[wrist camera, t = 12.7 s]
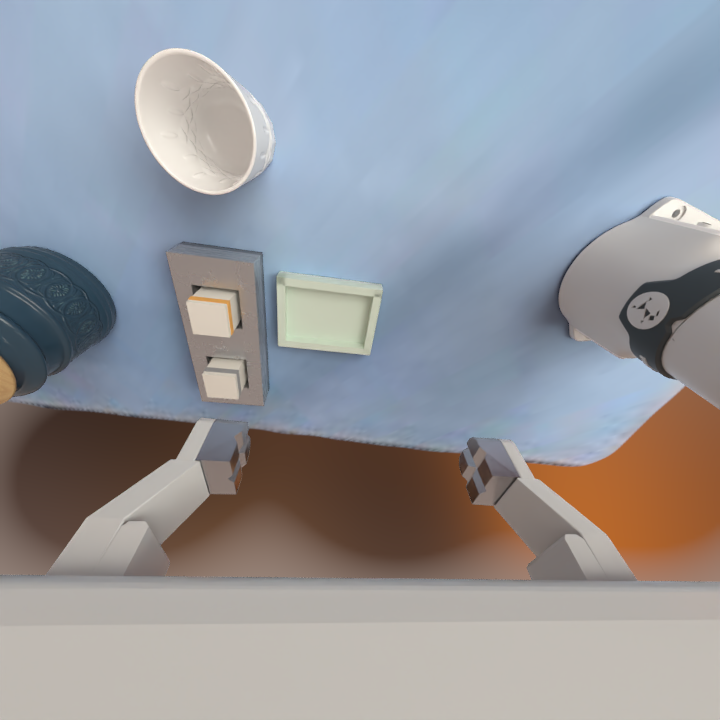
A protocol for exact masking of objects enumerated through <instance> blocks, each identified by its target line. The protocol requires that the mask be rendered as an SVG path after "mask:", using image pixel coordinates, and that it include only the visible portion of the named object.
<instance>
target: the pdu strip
mask: <svg viewBox="0 0 720 720" xmlns="http://www.w3.org/2000/svg"><path fill="white" fill-rule="evenodd" d="M166 255H167V259H168V263H169V267H170V271H171V276H172V280H173V284H174V288H175V292H176V296H177V300H178V304H179V308H180V313H181V317H182V321H183V325H184V329H185V333H186V337H187V341H188V345H189V350H190V354H191V358H192V362H193V366H194V370H195V374H196V378H197V382H198V387H199V391H200V395H201V399H202V401H206V402H219V403H232V404H245V405H258V406H264V403H265V400H266V397H267V394H268V391H269V371H268V352H267V332H266V313H265V293H264V274H263V254H262V252H255V251H247V250H240V249H233V248H225V247H218V246H211V245H203V244H196V243H188V242H182V243H180V244H178V245H177V246H175V247H173V248H171V249H170V250H168V251H166ZM202 286H206V287H215V288H223V289H231V290H239V298H240V307H241V317H242V319H241V320H240V322H239V323H238V325H237V327H236V328H235V330H234V333H233V334H232V335H231V336H230V338H228V337H218V336H208V335H199V334H193V331H192V327H191V322H190V318H189V313H188V309H187V304H186V301H187V300H188V298H189V297H190V296H193V295H194V294H195V293H196V292H197V291H198V290H199V289H200V288H201V287H202ZM213 357H221V358H231V359H242V360H246V364H247V373H248V378H247V380H246V383H245V385H244V387H243V390H242V393H241V395H240V397H239V399H225V398H212V397H207V393H206V389H205V385H204V380H203V376H202V374H203V372H204V369H205V368H206V367H207V366H208V364H209V363H210V361H211V360H212V358H213Z"/></svg>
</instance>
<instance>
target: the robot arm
mask: <svg viewBox="0 0 720 720" xmlns="http://www.w3.org/2000/svg"><path fill="white" fill-rule="evenodd" d="M673 212H674V213H673ZM559 306H560V310H561V312H562V314H563V315H564V316H565V318H566V319H567V320H568V322H569V333H570V336H571V337H572V338H573V339H575V340H576V341H591V340H592V341H593V342H595V343H596V344H598V345H599V346H601V347H602V348H604V349H605V350H607V351H609V352H610V353H612V354H613V355H615V356H616V357H618V358H621V359H625V358H638V359H640V360H641V361H643V363H644V364H645V365H646V366H648V367H649V368H651V369H652V370H654V371H656V372H659V373H660V374H662V375H663V376H665V377H668V378H671V379H675V380H678V381H680V382H681V383H683V384H684V385H685V386H687V387H688V388H690V389H691V390H693V391H694V392H696V393H697V394H698V395H700V396H701V397H703V398H704V399H705V400H707V401H708V402H710V403H711V404H713V405H714V406H715V407H717V408H719V409H720V221H719V220H717V219H716V218H714V217H712V216H710V215H708V214H706V213H704V212H703V211H701V210H699V209H697V208H695V207H693V206H692V205H690V204H688V203H686V202H684V201H682V200H680V199H678V198H674V197H666V198H663V199H661V200H660V201H658V202H657V203H655V204H654V205H653V206H651V207H650V208H649V209H647V210H646V211H645V212H643V213H642V214H641V215H640V216H638V217H636V218H634V219H632V220H630V221H628V222H625V223H623V224H621V225H618V226H616V227H614V228H612V229H611V230H609V231H607V232H606V233H604V234H602V235H601V236H600V237H598V238H597V239H595V240H594V241H593V242H592V243H591V244H589V245H588V246H587V247H586V248H585V249H584V250H583V251H582V252H581V253H580V254H579V255H578V257H577V258H576V259H575V260H574V262H573V263H572V264H571V266H570V267H569V269H568V271H567V272H566V274H565V276H564V278H563V281H562V284H561V287H560V291H559ZM248 430H249V427H248V422H242V421H231V420H221V419H209V418H200V419H199V420H198V421H197V422H196V424H195V426H194V428H193V430H192V431H191V433H190V435H189V437H188V439H187V440H186V442H185V444H184V446H183V448H182V449H181V451H180V453H179V455H178V457H177V459H176V460H172V459H171V460H169V461H168V462H167V463H165V464H164V465H162V466H161V467H159V468H158V469H156V470H155V471H154V472H152V473H151V474H149V475H148V476H146V477H145V478H144V479H142V480H141V481H139V482H138V483H136V484H135V485H133V486H132V487H131V488H129V489H128V490H126V491H125V492H123V493H122V494H120V495H119V496H117V497H116V498H115V499H113V500H112V501H110V502H109V503H107V504H106V505H105V506H103V507H102V508H100V509H99V510H97V511H96V512H94V513H93V514H92V515H90V516H89V517H87V518H86V520H85V521H84V522H83V524H82V525H81V527H80V528H79V529H78V531H77V532H76V533H75V535H74V536H73V538H72V539H71V541H70V542H69V543H68V545H67V546H66V548H65V549H64V551H63V552H62V553H61V555H60V556H59V557H58V559H57V560H56V562H55V563H54V564H53V566H52V567H51V569H50V570H49V571H48V573H47V574H46V575H0V720H720V582H687V581H684V582H682V581H637V579H636V578H635V576H634V575H633V573H632V572H631V570H630V569H629V567H628V566H627V564H626V563H625V561H624V560H623V558H622V557H621V555H620V554H619V553H618V551H617V549H616V548H615V546H614V545H613V543H612V542H611V541H610V539H609V538H608V536H607V535H606V534H605V533H604V532H603V531H602V530H600V529H599V528H598V527H597V526H595V525H594V524H593V523H592V522H591V521H589V520H588V519H587V518H586V517H584V516H583V515H582V514H581V513H579V512H578V511H577V510H576V509H575V508H573V507H572V506H571V505H570V504H568V503H567V502H566V501H565V500H564V499H562V498H561V497H560V496H559V495H557V494H556V493H555V492H554V491H552V490H551V489H550V488H549V487H548V486H546V485H545V484H544V483H543V482H541V481H540V480H539V479H534V476H533V475H532V473H531V471H530V470H529V468H528V466H527V464H526V463H525V461H524V459H523V457H522V456H521V454H520V452H519V450H518V449H517V447H516V445H515V443H514V442H513V441H511V440H505V439H494V438H476V437H472V438H470V439H469V440H468V442H467V445H468V448H466V449H465V450H463V451H462V453H461V455H460V459H459V466H460V471H461V474H462V476H463V477H464V478H465V479H466V480H467V481H468V482H467V485H466V488H467V491H468V494H469V496H470V499H471V502H472V504H478V505H491V506H492V505H493V506H494V508H495V509H496V510H497V511H498V512H499V513H500V515H501V516H502V517H503V518H504V519H505V520H506V522H507V523H508V524H509V525H510V526H511V527H512V528H513V530H514V531H515V532H516V533H517V534H518V536H519V537H520V538H521V539H522V540H523V541H524V543H525V544H526V545H527V546H528V547H529V548H530V549H531V551H532V552H533V553H534V554H535V555H536V558H535V559H534V560H533V561H531V562H530V563H529V564H528V566H527V570H528V572H529V575H530V577H531V580H488V579H486V580H485V579H484V580H483V579H389V578H382V579H381V578H288V577H286V578H285V577H280V578H279V577H185V576H183V577H179V576H165V574H166V572H167V569H168V567H169V565H170V561H169V559H168V557H167V555H166V554H165V552H164V550H163V549H162V547H161V546H160V545H161V544H162V543H163V541H165V540H166V539H167V538H168V537H169V536H170V535H171V534H172V533H173V532H174V531H175V530H176V529H177V528H178V527H179V526H180V525H181V524H182V523H183V522H184V521H185V520H186V519H187V518H188V517H189V516H190V514H192V513H193V512H194V511H195V510H196V509H197V507H198V506H200V504H201V503H202V502H204V500H205V499H206V498H207V497H208V496H209V494H237V491H238V488H239V485H240V481H241V478H242V470H241V468H242V467H243V466H244V465H246V463H247V460H248V456H249V450H250V437H249V436H248V435H247V432H248Z"/></svg>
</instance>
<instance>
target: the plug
mask: <svg viewBox="0 0 720 720" xmlns="http://www.w3.org/2000/svg"><path fill="white" fill-rule="evenodd" d="M186 304H187V309H188V313H189V318H190V322H191V327H192V331H193V334H199V335H208V336H218V337H228V338H230V336H231V335H232V334H233V333H234V330H235V328H236V327H237V325H238V323H239V322H240V320H241V319H242V317H241V307H240V298H239V290H231V289H223V288H215V287H206V286H202V287H201V288H200V289H199V290H198V291H197V292H196V293H195V294H194V295H193V296H190V297H189V298H188V300H187V301H186Z"/></svg>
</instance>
